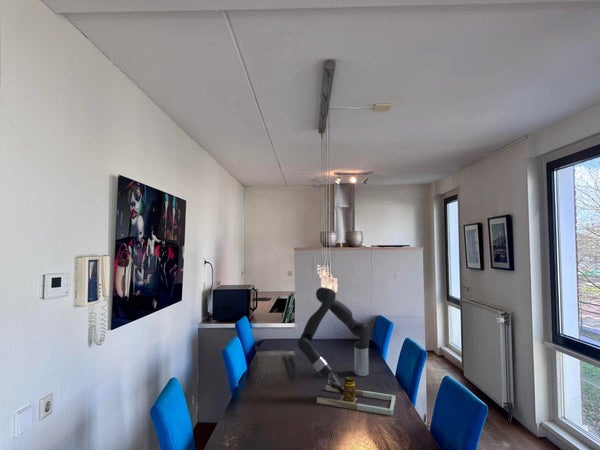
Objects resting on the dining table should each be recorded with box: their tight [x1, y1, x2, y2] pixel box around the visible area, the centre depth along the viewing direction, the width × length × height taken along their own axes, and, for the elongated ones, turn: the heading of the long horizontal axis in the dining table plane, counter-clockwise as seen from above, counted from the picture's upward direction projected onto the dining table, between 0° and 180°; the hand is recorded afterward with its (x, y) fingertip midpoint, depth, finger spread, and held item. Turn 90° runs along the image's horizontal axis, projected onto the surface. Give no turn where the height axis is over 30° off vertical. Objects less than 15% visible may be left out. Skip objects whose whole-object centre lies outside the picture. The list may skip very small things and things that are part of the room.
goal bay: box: [357, 390, 397, 416], centre depth 181 cm, size 18×18×2 cm
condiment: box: [339, 376, 358, 403], centre depth 187 cm, size 7×8×12 cm
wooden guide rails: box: [316, 384, 364, 410], centre depth 188 cm, size 18×22×2 cm
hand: (343, 392), depth 188 cm, fingers closed
